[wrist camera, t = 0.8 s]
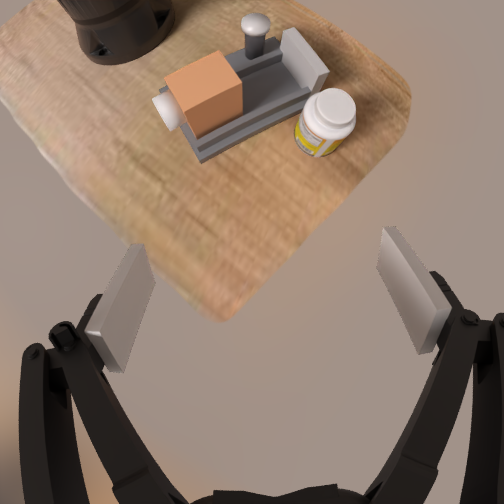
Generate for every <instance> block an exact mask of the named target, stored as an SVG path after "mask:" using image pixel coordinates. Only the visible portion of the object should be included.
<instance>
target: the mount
mask: <svg viewBox="0 0 504 504" xmlns="http://www.w3.org/2000/svg"><path fill="white" fill-rule="evenodd" d="M225 59H226V60H227V62H228V63H229V64H230V66H231V67H232V69H233V70H234V71H235V73H236V74H237V76H238V77H239V79H240V80H241V82H242V100H243V116H242V117H240V118H238V119H236V120H234V121H232V122H230V123H228V124H226V125H224V126H222V127H220V128H218V129H216V130H215V131H213V132H211V133H209V134H207V135H205V136H204V137H202V138H200V139H198V140H197V139H196V137H195V135H194V133H193V132H192V130H191V128H190V127H189V125H188V123H187V122H186V123H184V124H182V125H181V126H180V128H181V130H182V131H183V133H184V135H185V137H186V138H187V140H188V142H189V144H190V145H191V147H192V149H193V151H194V153H195V154H196V156H197V158H198V160H199V161H200V163H201V164H202V163H204V162H205V161H207V160H209V159H211V158H212V157H214V156H216V155H218V154H220V153H222V152H223V151H225V150H227V149H229V148H231V147H233V146H235V145H236V144H238V143H240V142H242V141H244V140H246V139H248V138H250V137H252V136H254V135H256V134H258V133H260V132H262V131H264V130H266V129H268V128H270V127H272V126H274V125H276V124H278V123H280V122H282V121H284V120H286V119H288V118H290V117H293V116H295V115H297V114H299V113H301V112H302V110H303V108H304V106H305V104H306V102H307V100H308V99H309V98H310V97H311V96H312V95H314V94H316V93H318V92H320V90H321V88H322V86H323V84H324V82H325V80H326V78H327V76H328V74H329V72H330V71H329V70H328V68H327V67H326V66H325V64H324V63H323V62H322V61H321V59H320V58H319V57H318V55H317V54H316V53H315V52H314V50H313V49H312V48H311V47H310V45H309V44H308V43H307V42H306V40H305V39H304V38H303V37H302V36H301V35H300V33H299V32H298V31H297V30H296V29H295V28H294V27H293V28H290V29H287V30H284V31H283V35H282V40H281V44H280V42H279V41H278V40H277V39H276V38H275V36H274V37H272V38H269V39H266V40H265V44H264V54H263V56H260V57H258V58H255V59H253V60H249V59H247V58H246V56H245V48H243V49H241V50H238V51H236V52H234V53H231V54H229V55H227V56H225ZM168 89H169V87H168V85H167V86H165V87H163V88H161V89H159V91H160V93H163V92H165V91H167V90H168Z"/></svg>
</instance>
